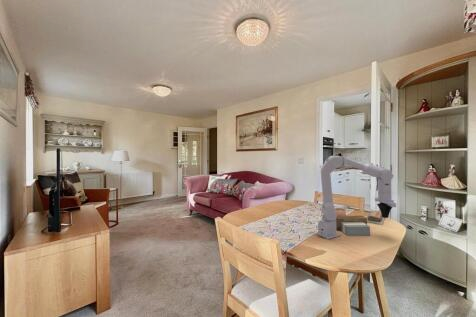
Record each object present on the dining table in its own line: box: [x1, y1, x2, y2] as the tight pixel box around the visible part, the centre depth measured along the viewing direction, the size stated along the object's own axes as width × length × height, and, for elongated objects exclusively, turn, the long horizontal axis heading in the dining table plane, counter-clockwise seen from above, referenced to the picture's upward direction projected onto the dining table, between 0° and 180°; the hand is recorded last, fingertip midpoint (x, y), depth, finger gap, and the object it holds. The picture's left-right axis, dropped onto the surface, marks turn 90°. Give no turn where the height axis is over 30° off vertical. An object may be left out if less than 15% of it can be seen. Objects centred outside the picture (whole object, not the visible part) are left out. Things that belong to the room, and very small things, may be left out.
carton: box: [340, 222, 371, 237], centre depth 118 cm, size 8×12×5 cm, turn 86°
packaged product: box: [365, 210, 386, 226], centre depth 139 cm, size 18×5×10 cm
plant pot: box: [334, 207, 347, 216], centre depth 142 cm, size 7×7×7 cm
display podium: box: [336, 215, 368, 231], centre depth 124 cm, size 5×18×7 cm, turn 86°
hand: (385, 217), depth 110 cm, fingers closed
